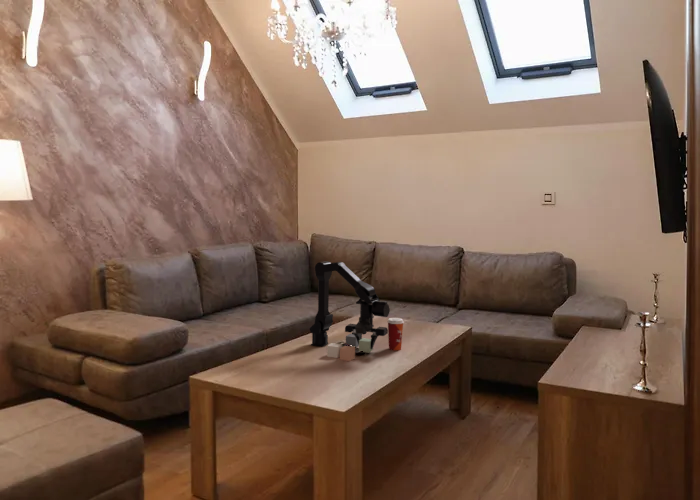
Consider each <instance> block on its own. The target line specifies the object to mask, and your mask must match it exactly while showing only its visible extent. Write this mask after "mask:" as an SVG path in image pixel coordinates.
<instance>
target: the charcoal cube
mask: <svg viewBox="0 0 700 500" xmlns="http://www.w3.org/2000/svg"><path fill="white" fill-rule="evenodd" d="M346 343H347V344H349V345H352V346H355V347H356V348H357V347H359V344H358V341H357V339H356V337H355V336H354V335H353V334H352V333H349V334H347V335H345V344H346Z"/></svg>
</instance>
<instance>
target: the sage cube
mask: <svg viewBox="0 0 700 500" xmlns="http://www.w3.org/2000/svg"><path fill="white" fill-rule="evenodd" d="M359 351H363V352H362V353H366V354H368V353H369V354H370V353H371V352H372V351H374V347H373V348H372V349H371V338H365V337H362V339H361V340H359V346H358V352H359Z"/></svg>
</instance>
